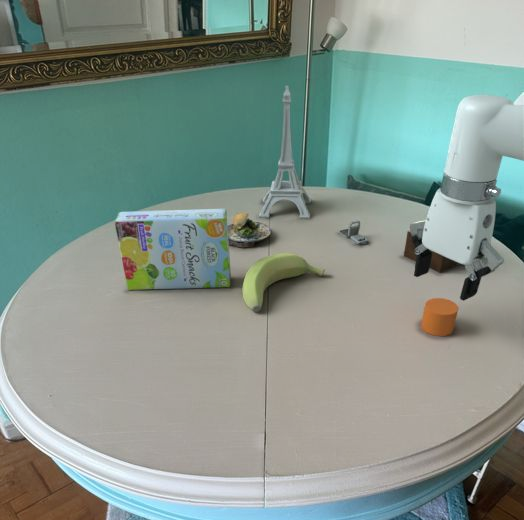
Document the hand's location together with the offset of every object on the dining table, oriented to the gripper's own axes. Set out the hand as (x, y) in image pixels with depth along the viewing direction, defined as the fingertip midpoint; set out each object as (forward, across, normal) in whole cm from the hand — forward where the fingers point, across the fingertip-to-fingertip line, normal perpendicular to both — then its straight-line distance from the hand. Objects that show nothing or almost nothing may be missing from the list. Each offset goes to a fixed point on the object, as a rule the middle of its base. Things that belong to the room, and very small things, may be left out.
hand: (443, 285), depth 88 cm
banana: (+9, +28, +13) cm, 32 cm away
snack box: (+10, +42, +29) cm, 52 cm away
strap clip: (+9, +36, -15) cm, 41 cm away
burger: (+10, +52, +5) cm, 54 cm away
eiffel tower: (+10, +62, -14) cm, 64 cm away
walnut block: (+8, +18, -22) cm, 30 cm away
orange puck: (+8, 0, 0) cm, 9 cm away
